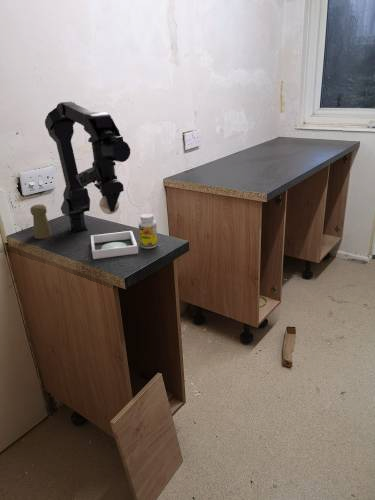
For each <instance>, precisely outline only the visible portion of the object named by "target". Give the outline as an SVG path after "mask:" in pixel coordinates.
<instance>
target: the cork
mask: <svg viewBox="0 0 375 500" xmlns="http://www.w3.org/2000/svg"><path fill="white" fill-rule="evenodd" d="M47 212H48V210H47V207H46V206H45V205H44V204H41V203H40V204H33V205H31V207H30V214H31V215H32V216H33V217H32V219H33V220H32V221H33V237H34V239H36V240H37V239H38V240H43V239H48V238H50V237H52V236H53V232H52V230H51V226H50V223H49V220H48V217H47Z"/></svg>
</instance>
